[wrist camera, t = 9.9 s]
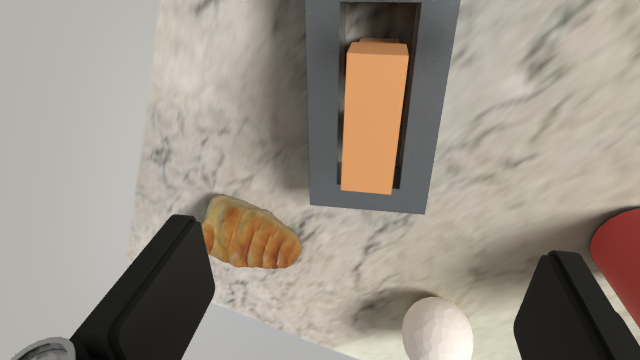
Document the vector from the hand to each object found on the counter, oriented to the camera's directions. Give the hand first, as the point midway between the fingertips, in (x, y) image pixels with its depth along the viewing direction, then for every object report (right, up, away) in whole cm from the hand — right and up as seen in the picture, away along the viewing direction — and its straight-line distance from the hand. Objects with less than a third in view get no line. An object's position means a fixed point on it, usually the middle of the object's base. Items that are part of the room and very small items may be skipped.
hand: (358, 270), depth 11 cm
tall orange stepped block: (+3, +9, +16) cm, 19 cm away
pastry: (-8, -2, +25) cm, 26 cm away
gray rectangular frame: (+3, +9, +16) cm, 19 cm away
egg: (+10, -9, +26) cm, 29 cm away
